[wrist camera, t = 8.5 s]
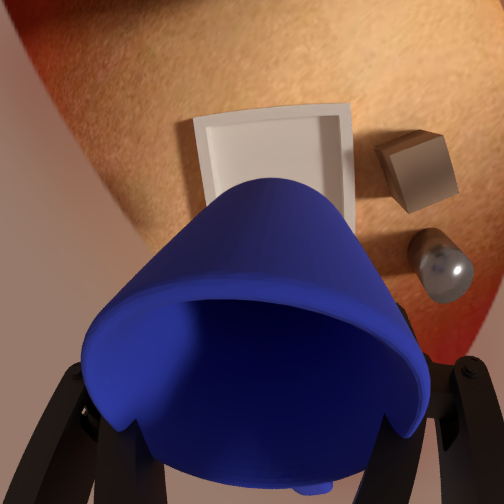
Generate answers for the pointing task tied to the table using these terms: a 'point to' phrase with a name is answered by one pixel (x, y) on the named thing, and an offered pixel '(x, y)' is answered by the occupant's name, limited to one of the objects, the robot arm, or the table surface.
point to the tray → (281, 150)
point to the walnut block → (417, 169)
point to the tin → (440, 265)
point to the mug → (258, 346)
